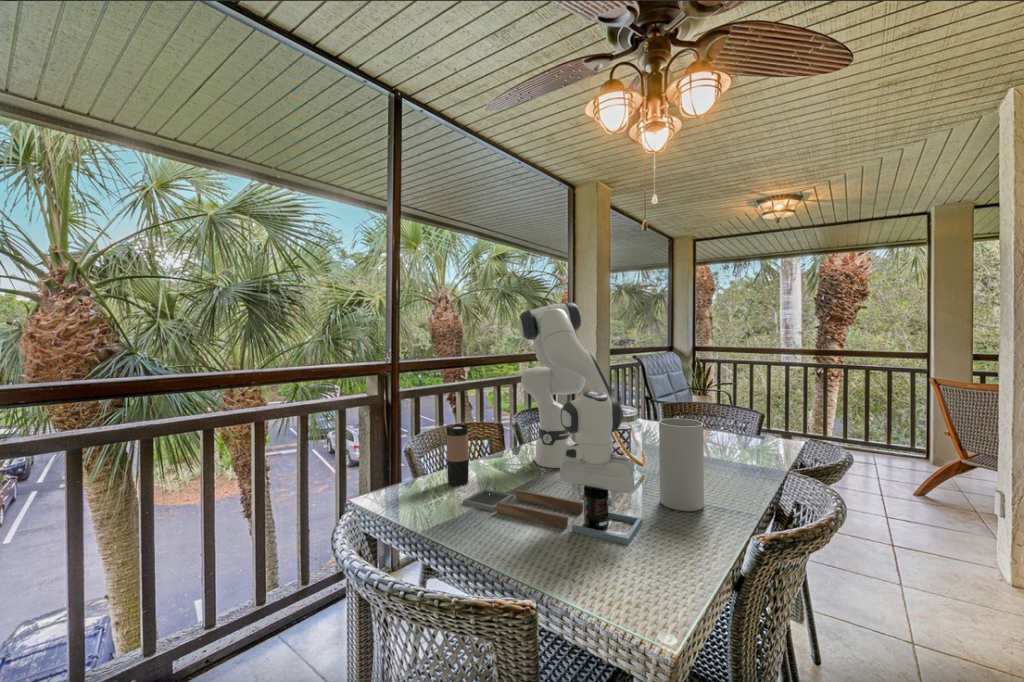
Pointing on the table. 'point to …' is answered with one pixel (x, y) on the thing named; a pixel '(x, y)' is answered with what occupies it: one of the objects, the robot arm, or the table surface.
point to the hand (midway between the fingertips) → (596, 502)
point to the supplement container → (596, 508)
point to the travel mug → (457, 455)
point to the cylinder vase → (681, 464)
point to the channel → (539, 514)
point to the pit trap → (487, 499)
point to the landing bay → (611, 536)
